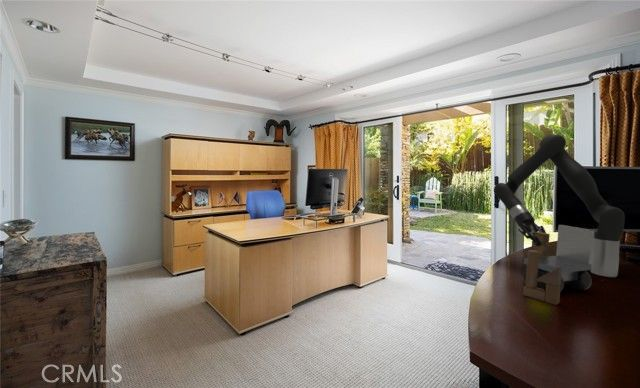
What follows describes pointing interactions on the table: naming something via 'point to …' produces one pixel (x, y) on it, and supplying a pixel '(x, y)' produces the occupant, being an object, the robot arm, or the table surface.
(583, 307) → the table surface
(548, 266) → the trolley
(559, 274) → the tan wooden frame
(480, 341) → the table surface
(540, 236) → the block
